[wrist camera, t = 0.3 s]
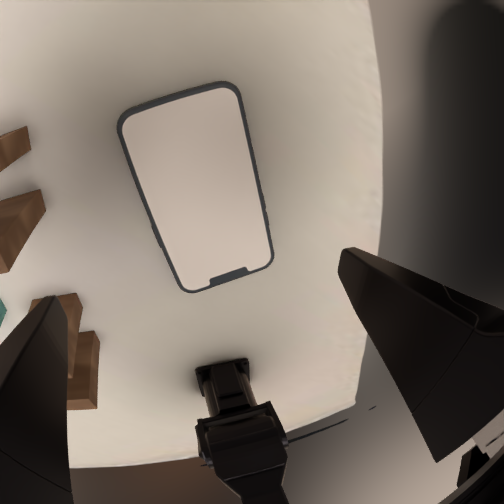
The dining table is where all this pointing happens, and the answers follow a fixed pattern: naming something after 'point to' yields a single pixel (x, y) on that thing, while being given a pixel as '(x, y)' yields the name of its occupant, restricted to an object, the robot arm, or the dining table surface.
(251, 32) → the dining table surface
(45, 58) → the dining table surface
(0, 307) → the domino
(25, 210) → the domino
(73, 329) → the domino
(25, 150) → the domino
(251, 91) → the dining table surface
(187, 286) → the smartphone with white screen
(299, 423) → the dining table surface
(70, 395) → the brown wooden block
